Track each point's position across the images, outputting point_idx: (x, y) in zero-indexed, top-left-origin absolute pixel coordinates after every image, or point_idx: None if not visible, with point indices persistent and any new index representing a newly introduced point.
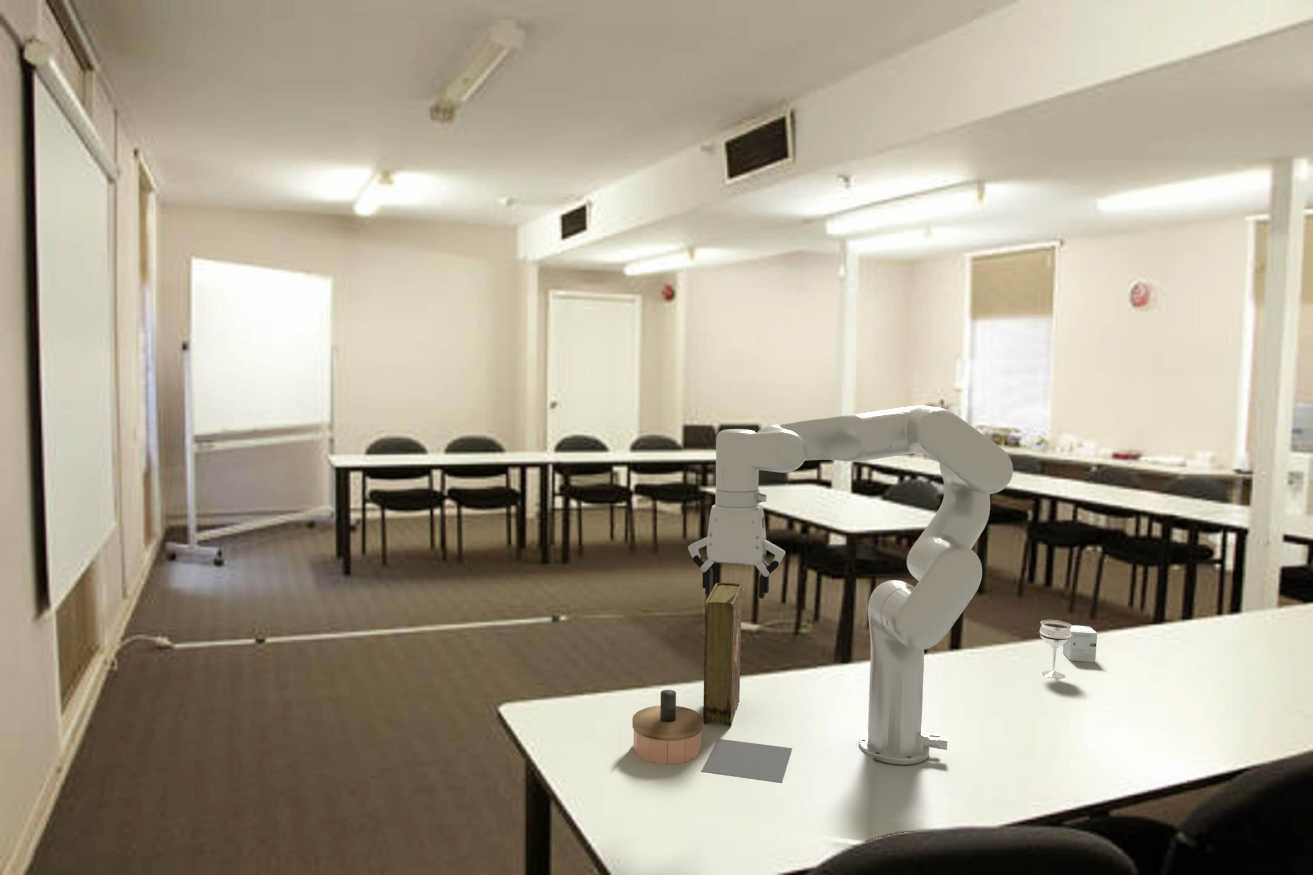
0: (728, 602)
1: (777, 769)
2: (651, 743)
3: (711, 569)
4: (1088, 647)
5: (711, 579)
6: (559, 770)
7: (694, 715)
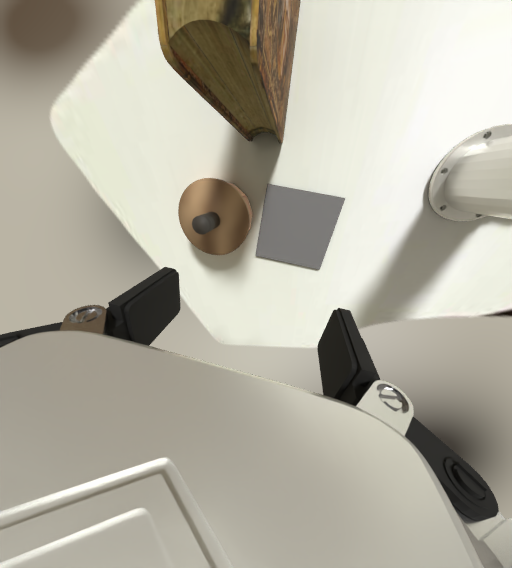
0: None
1: (319, 247)
2: None
3: (122, 315)
4: None
5: (155, 309)
6: (157, 255)
7: (237, 206)
